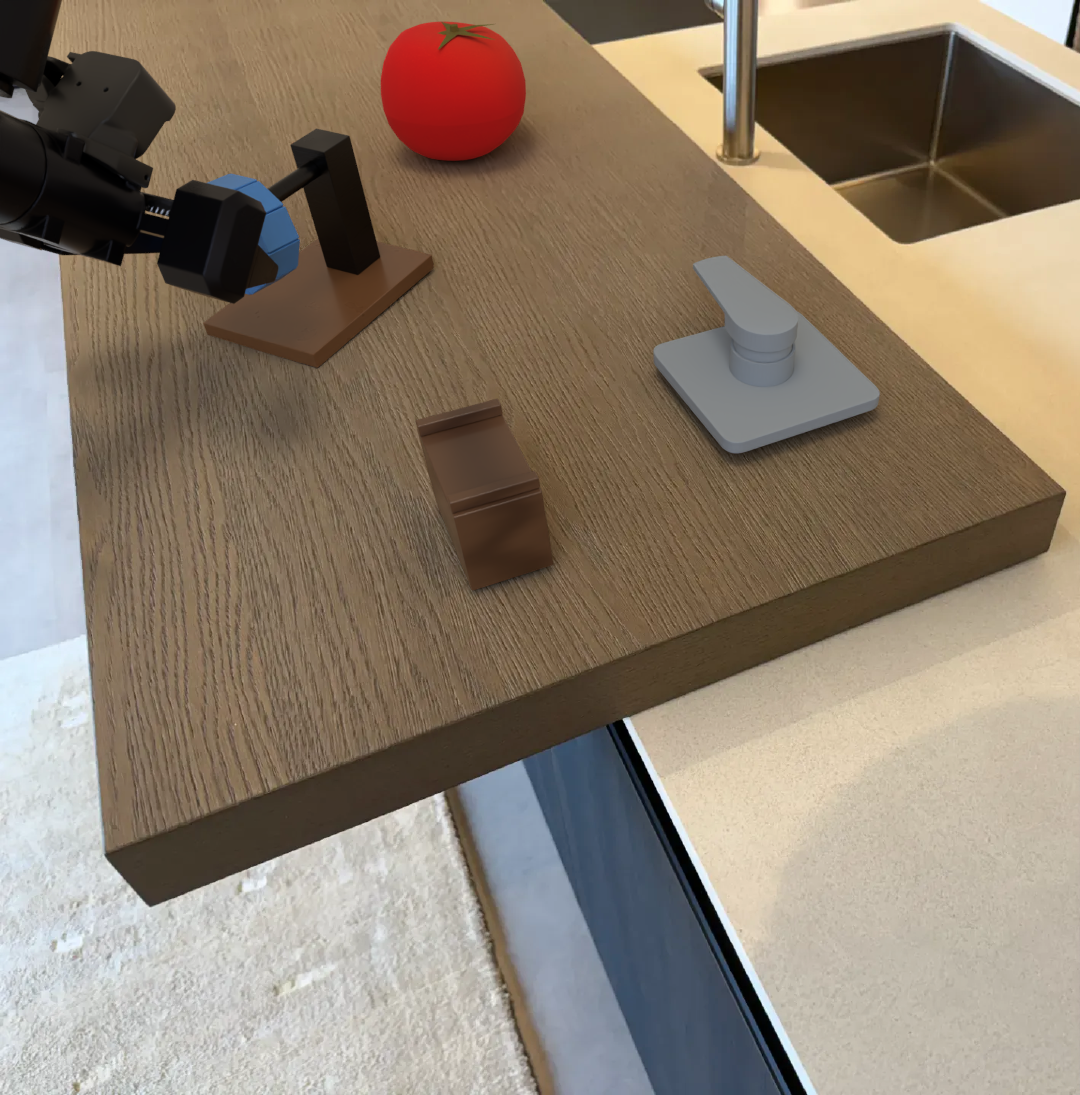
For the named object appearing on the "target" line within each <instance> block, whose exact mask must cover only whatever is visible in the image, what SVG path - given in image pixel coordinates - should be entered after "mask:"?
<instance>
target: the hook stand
mask: <svg viewBox="0 0 1080 1095" xmlns="http://www.w3.org/2000/svg"><path fill="white" fill-rule="evenodd" d="M290 149H291V152H292V155H293V158H294V162H295V166H296V169H295V170H294V171H292V172H290V173H289V174H287V175H285V176H284V177H283V178H281V179H279V180H277V181H276V182H275V183H273V184H272V185H270V186H269V187H266V188H267V189H268V190H269V191H270V192H271V193H272V194H273V195H274V196H275V197H276V198H277V199H279V200H280V201H281V202H282V203H283V202H284V201H285V200H287V199H288V198H290V197H291V196H293V195H294V194H296V193H297V192H299V191H300V190H301V189H303V192H304V195H305V199H306V202H307V205H308V208H309V212H310V216H311V219H312V223H313V226H314V230H315V232H316V236H317V238H316V239H315V240H313V242H311V243H309V244H308V245H307V246H305V247H304V248H303V249H302V250H299V259H298V266H297V268H296V269H295V270H293V271H292V272H290V273H289V274H288V275H286V276H285V277H283V278H282V279H280V280H278V281H277V282H275V283H273V284H271V285H269V286H267V287H265V288H264V289H262V290H260V291H258V292H256V293H254V294H252V295H248V294H245V295H244V297H243V298H242V299H240V300H239V301H238V302H236V303H235V304H232V303H229V302H228V304H227V305H225V306H224V307H222V308H221V309H220V310H218V311H217V312H216V313H214V314H213V315H212V316H210V317H209V318H207V319H206V320H205V321H203V322H202V325H203V327H204V329H205V332H206V335H207V336H211V337H213V338H216V339H221V340H224V341H227V342H230V343H233V344H237V345H239V346H242V347H246V348H249V349H252V350H256V351H259V352H262V353H265V354H269V355H272V356H275V357H278V358H282V359H285V360H289V361H293V362H295V363H299V364H302V365H306V366H309V367H313V368H319V367H321V366H322V365H323V364H324V363H326V361H328V360H329V359H330V358H331V357H332V356H334V355H335V353H337V352H338V351H339V350H341V348H343V347H344V346H345V345H346V344H347V343H348V342H350V341H351V340H352V339H353V338H354V337H355V336H356V335H358V334H359V333H360V332H362V330H364V329H365V328H366V327H367V326H368V325H370V324H371V323H372V322H373V321H374V320H375V319H377V317H379V316H380V315H381V314H382V313H383V312H384V311H385V310H387V309H388V308H389V307H391V305H393V304H394V303H395V302H396V301H397V300H398V299H400V298H401V297H402V296H403V295H404V294H405V293H407V291H409V290H410V289H411V288H412V287H414V286H415V285H416V284H417V283H418V282H419V281H420V280H422V279H423V278H424V277H425V276H426V275H428V274H429V272H431V271H432V270H433V269H434V268H435V265H434V260H433V259H434V258H433V255H432V254H429V253H427V252H422V251H417V250H415V249H410V248H406V247H402V246H399V245H394V244H390V243H385V242H383V241H377V237H376V234H375V230H374V225H373V221H372V218H371V214H370V210H369V206H368V203H367V198H366V194H365V191H364V187H363V183H362V179H361V176H360V171H359V167H358V163H357V159H356V155H355V151H354V148H353V144H352V139H351V136H350V135H349V134H343V133H340V132H336V131H335V132H334V131H330V130H325V129H322V128H321V129H320V128H315V129H313V130H311V131H310V132H308V133H306V134H305V135H304V136H302V137H300V138H298V139H297V140H295V141H293V142H292V143H291V144H290Z"/></svg>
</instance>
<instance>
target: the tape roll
mask: <svg viewBox="0 0 1080 1095" xmlns="http://www.w3.org/2000/svg"><path fill="white" fill-rule="evenodd" d="M207 183H208V184H213V185H217V186H221V187H225V188H229V189H233V190H237V191H240V192H242V193H244V194H246V195H248V196H250V197H252V198H254V199H256V200H258V201H260V202H261V203H262V205H263V207H264V209H265V211H266V216H265V220H264V224H263V228H262V231H261V235H260V239H259V243H258V245H259V246H260V247H261V248H262V249H263V250H264V251H265V252H266V253H267V254H268V256H269V257H270V258H271V259H272V260H273V261H274V262H275V263H276V264H277V265H278V272H277V276H276V280H275V281H274V282H271V283H267V284H263V285H259V286H256V287H252V288H248V289H246V291H245V294H248V295H252V294H254V293H256V292H258V291H260V290H262V289H264V288H265V287H267V286H269V285H271V284H273V283H275V282H277V281H278V280H280V279H282V278H283V277H285V276H286V275H288V274H289V273H290V272H292V271H293V270H295V269H296V268H297V266H298V259H299V252H300V245H301V244H300V243H301V240H300V235H299V234H298V231H297V228H296V227H295V224H294V222H293V220H292V218H291V215H290V214H289V212H288V209H287V207H286V205H285V206H284V203H283V201H282V202H281V201H280V200H279V199H277V198H276V197H275V196H274V195H273V194H272V193H271V192H270V191H269V190H268V189H267V188H268V187H266V186H265V185H264V184H263V183H262V182H261V181H260V180H258V179H256V178H252V177H248V176H244V175H239V174H235V173H227V174H224V175H222V176H220V177H217V178H215V179H213V180H210V181H208V182H207Z"/></svg>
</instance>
